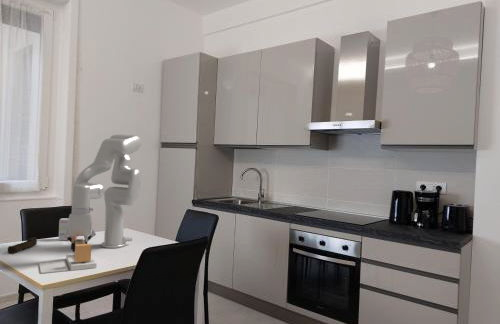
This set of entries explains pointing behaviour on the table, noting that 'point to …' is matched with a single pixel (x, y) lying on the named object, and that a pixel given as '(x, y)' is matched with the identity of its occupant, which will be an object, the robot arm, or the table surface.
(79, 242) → the tan block on stem
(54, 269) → the tool mat
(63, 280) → the table surface
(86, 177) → the robot arm
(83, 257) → the slide tab
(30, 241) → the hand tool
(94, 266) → the switch housing
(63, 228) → the ink box
